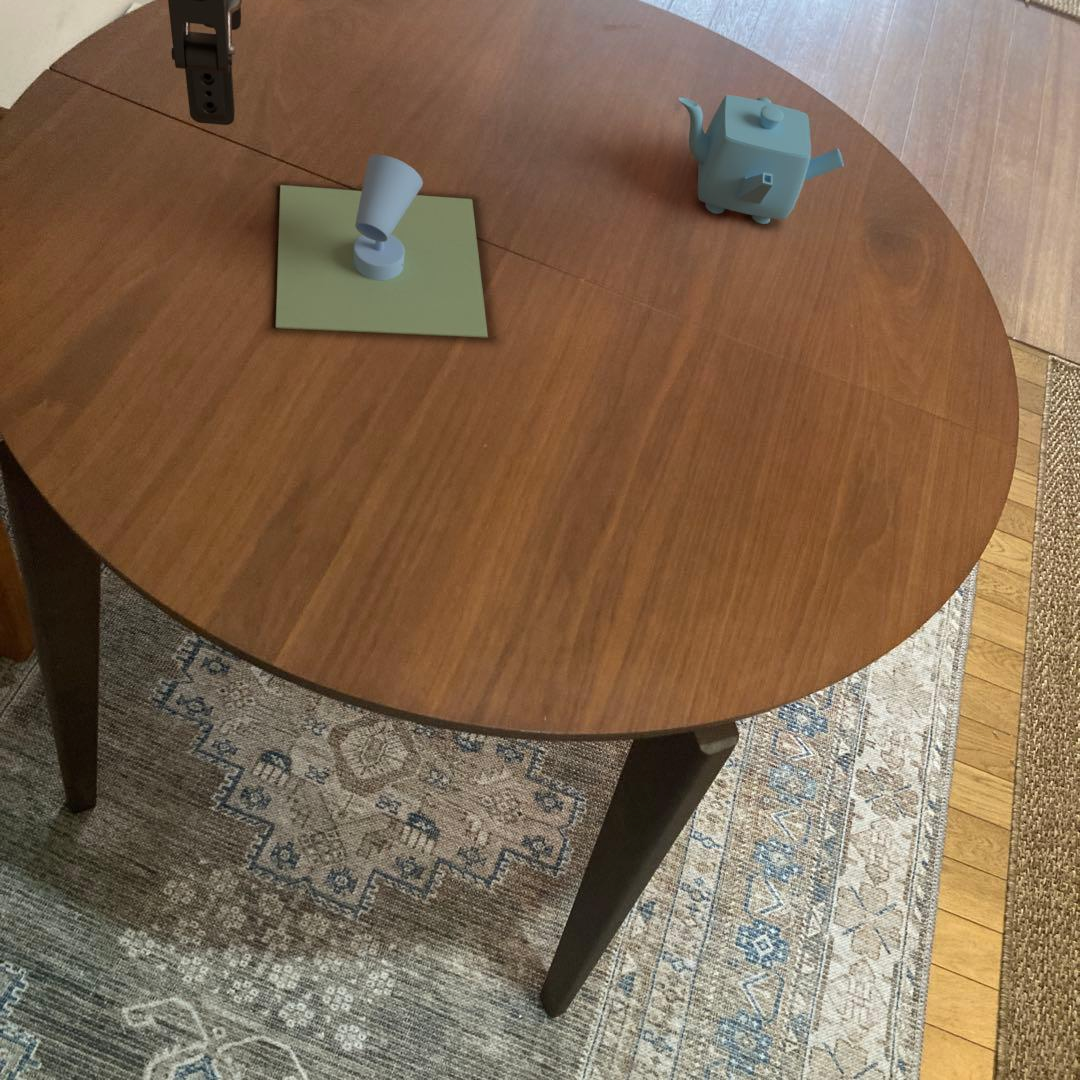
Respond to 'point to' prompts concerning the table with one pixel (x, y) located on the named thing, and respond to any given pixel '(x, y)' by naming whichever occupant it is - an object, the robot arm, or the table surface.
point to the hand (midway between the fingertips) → (217, 71)
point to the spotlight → (383, 216)
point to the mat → (378, 305)
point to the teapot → (754, 157)
